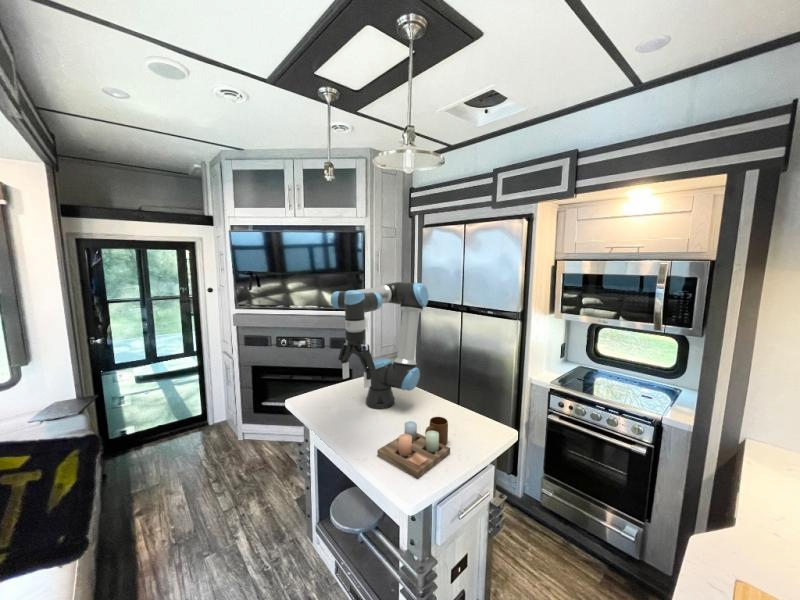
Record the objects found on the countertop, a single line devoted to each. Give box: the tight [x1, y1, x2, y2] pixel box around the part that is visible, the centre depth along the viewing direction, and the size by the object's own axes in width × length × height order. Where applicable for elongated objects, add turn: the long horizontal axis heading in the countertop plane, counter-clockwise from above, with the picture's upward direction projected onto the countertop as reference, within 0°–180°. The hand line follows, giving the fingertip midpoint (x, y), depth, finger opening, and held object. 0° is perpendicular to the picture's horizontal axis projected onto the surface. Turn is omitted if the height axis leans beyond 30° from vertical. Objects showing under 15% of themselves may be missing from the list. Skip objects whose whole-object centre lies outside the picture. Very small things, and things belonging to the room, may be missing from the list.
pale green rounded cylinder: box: [425, 430, 439, 453], centre depth 127 cm, size 5×5×6 cm
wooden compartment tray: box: [376, 432, 451, 480], centre depth 127 cm, size 20×20×3 cm
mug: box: [424, 416, 449, 446], centre depth 134 cm, size 12×8×9 cm, turn 136°
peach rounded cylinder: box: [398, 433, 413, 457], centre depth 124 cm, size 5×5×6 cm
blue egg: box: [403, 420, 418, 442], centre depth 134 cm, size 5×5×6 cm
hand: (356, 382), depth 131 cm, fingers open, 13 cm apart
